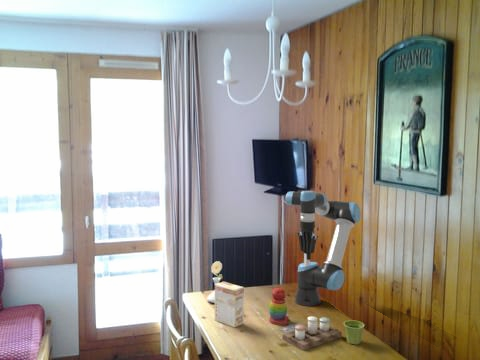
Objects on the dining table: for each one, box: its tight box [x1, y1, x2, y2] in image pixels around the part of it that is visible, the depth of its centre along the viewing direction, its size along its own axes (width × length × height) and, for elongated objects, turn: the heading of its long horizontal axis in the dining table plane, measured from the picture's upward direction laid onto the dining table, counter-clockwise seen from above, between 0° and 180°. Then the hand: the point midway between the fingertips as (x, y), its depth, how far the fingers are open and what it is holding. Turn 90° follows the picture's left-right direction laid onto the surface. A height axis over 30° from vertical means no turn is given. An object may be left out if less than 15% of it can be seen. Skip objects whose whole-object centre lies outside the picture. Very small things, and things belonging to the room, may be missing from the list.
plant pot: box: [343, 319, 365, 345], centre depth 208 cm, size 9×9×9 cm
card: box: [278, 322, 308, 334], centre depth 224 cm, size 14×6×1 cm, turn 125°
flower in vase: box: [206, 260, 224, 304], centre depth 261 cm, size 13×11×25 cm
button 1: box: [295, 324, 306, 341], centre depth 208 cm, size 5×5×7 cm
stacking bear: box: [268, 286, 290, 327], centre depth 232 cm, size 11×10×18 cm
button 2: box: [319, 316, 331, 333], centre depth 217 cm, size 5×5×7 cm
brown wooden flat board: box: [282, 322, 343, 351], centre depth 213 cm, size 25×14×2 cm, turn 125°
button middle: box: [307, 316, 319, 335], centre depth 212 cm, size 5×5×7 cm
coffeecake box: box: [214, 281, 245, 329], centre depth 231 cm, size 15×7×20 cm, turn 47°
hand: (306, 265), depth 233 cm, fingers closed
